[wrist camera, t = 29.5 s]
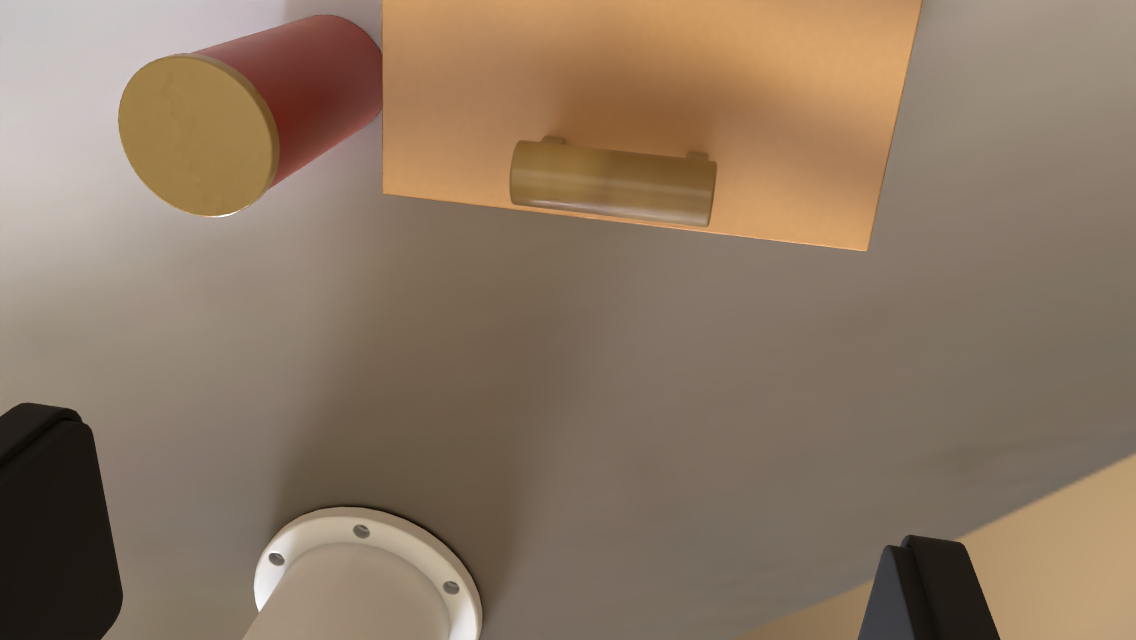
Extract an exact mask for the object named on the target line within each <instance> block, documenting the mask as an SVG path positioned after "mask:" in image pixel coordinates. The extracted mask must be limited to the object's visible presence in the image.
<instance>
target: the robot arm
mask: <svg viewBox="0 0 1136 640" xmlns="http://www.w3.org/2000/svg"><path fill="white" fill-rule="evenodd" d="M254 592H255V601H256V604H257V607H258V610H259V614H258V615H257V617H256V618H255V620H254V622H253V623H252V625H251V626H250V628H249V629H248V631H247V633H246V634H245V636H244V637H243V639H242V640H479V636H480V633H481V629H482V607H481V602H480V597H479V593H478V591H477V589H476V586H475V584H474V582H473V579H472V577H471V576H470V574H469V573H468V571H467V570H466V568H465V567H464V565H463V564H462V562H461V561H460V560H459V559H458V558H457V557H456V556H455V555H454V554H453V552H452V551H451V550H450V549H449V548H448V547H447V546H446V545H445V544H443V543H442V542H441V541H439V540H438V539H437V538H435V537H434V536H433V535H431V534H430V533H429V532H427V531H426V530H424V529H422V528H420V527H418V526H416V525H415V524H413V523H411V522H409V521H407V520H405V519H402V518H399V517H396V516H394V515H391V514H388V513H385V512H381V511H376V510H371V509H366V508H358V507H335V508H328V509H320V510H317V511H314V512H311V513H308V514H305V515H302V516H300V517H298V518H297V519H295V520H293V521H292V522H290V523H288V524H287V525H285V526H284V527H283V528H282V529H281V530H280V531H279V532H278V533H277V534H276V535H275V536H274V537H273V538H272V540H271V541H270V543H269V544H268V546H267V547H266V548H265V550H264V551H263V553H262V555H261V558H260V560H259V562H258V565H257V567H256V572H255V579H254ZM122 600H123V591H122V586H121V581H120V575H119V570H118V565H117V559H116V554H115V549H114V543H113V538H112V533H111V527H110V522H109V517H108V512H107V506H106V501H105V496H104V490H103V485H102V480H101V474H100V469H99V464H98V458H97V453H96V448H95V442H94V437H93V433H92V430H91V428H90V427H89V426H88V425H87V424H84V423H83V422H82V419H81V417H80V416H79V414H78V413H77V412H76V411H74V410H72V409H68V408H62V407H55V406H48V405H42V404H35V403H21V404H19V405H17V406H15V407H13V408H12V409H10V410H9V411H8V412H6V413H5V414H3V415H2V416H1V417H0V640H101V639H102V637H103V636H104V635H105V634H106V633H107V631H108V630H109V629H110V628H111V627H112V625H113V624H114V622H115V621H116V619H117V617H118V615H119V613H120V609H121V606H122ZM858 640H1000V637H999V635H998V632H997V629H996V627H995V624H994V621H993V619H992V616H991V613H990V611H989V608H988V605H987V603H986V600H985V597H984V595H983V592H982V589H981V587H980V584H979V582H978V579H977V576H976V573H975V571H974V568H973V565H972V563H971V560H970V557H969V555H968V552H967V550H966V548H965V546H964V545H963V544H962V543H960V542H955V541H948V540H942V539H935V538H928V537H922V536H915V535H907V536H906V537H905V538H904V539H903V541H902V543H901V546H900V547H898V546H891V545H887V546H886V547H885V548H884V550H883V553H882V555H881V559H880V562H879V566H878V569H877V573H876V576H875V580H874V584H873V587H872V591H871V595H870V598H869V602H868V605H867V608H866V612H865V615H864V619H863V623H862V626H861V630H860V633H859V636H858Z"/></svg>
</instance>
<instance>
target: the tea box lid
mask: <svg viewBox="0 0 1136 640" xmlns="http://www.w3.org/2000/svg"><path fill="white" fill-rule="evenodd" d="M922 2H923V0H382V145H383V194H388V195H396V196H404V197H413V198H421V199H430V200H438V201H447V202H455V203H464V204H472V205H480V206H489V207H497V208H506V209H514V210H523V211H531V212H540V213H548V214H556V215H565V216H573V217H582V218H590V219H599V220H607V221H616V222H624V223H632V224H641V225H649V226H658V227H666V228H675V229H683V230H692V231H700V232H708V233H717V234H725V235H734V236H742V237H751V238H759V239H768V240H776V241H784V242H793V243H801V244H810V245H818V246H827V247H835V248H844V249H852V250H860V251H867V250H868V247H869V243H870V238H871V234H872V229H873V225H874V220H875V215H876V211H877V206H878V202H879V197H880V193H881V188H882V184H883V179H884V175H885V170H886V165H887V161H888V156H889V152H890V147H891V143H892V138H893V134H894V129H895V125H896V120H897V115H898V111H899V106H900V102H901V97H902V93H903V88H904V84H905V79H906V75H907V70H908V65H909V61H910V56H911V52H912V47H913V43H914V38H915V34H916V29H917V25H918V20H919V15H920V11H921V6H922Z"/></svg>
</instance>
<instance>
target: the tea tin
mask: <svg viewBox="0 0 1136 640" xmlns="http://www.w3.org/2000/svg"><path fill="white" fill-rule="evenodd" d="M381 108H382V55H381V53H380V51H379V49H378V47H377V46H376V44H375V43H374V41H373V40H372V39H371V38H370V36H369V35H368V34H367V33H366V32H365V31H363V30H362V29H361V28H360V27H358V26H357V25H355V24H354V23H352V22H350V21H348V20H346V19H344V18H341V17H337V16H332V15H316V16H312V17H308V18H305V19H301V20H298V21H295V22H291V23H288V24H285V25H281V26H278V27H275V28H272V29H268V30H265V31H262V32H258V33H255V34H252V35H248V36H245V37H242V38H239V39H235V40H232V41H229V42H225V43H222V44H219V45H215V46H212V47H209V48H205V49H202V50H199V51H196V52H192V53H182V54H174V55H170V56H167V57H163V58H160V59H157V60H155V61H152V62H150V63H148V64H147V65H145V66H144V67H142V68H141V69H140V70H139V71H138V72H137V73H136V74H135V75H134V76H133V77H132V78H131V80H130V81H129V82H128V84H127V86H126V88H125V90H124V92H123V95H122V98H121V101H120V107H119V118H118V122H119V132H120V137H121V142H122V145H123V148H124V151H125V153H126V156H127V158H128V160H129V162H130V164H131V165H132V167H133V169H134V171H135V172H136V173H137V175H138V176H139V178H140V179H141V180H142V181H143V182H144V184H145V185H146V186H147V187H148V188H149V189H150V190H151V191H152V192H153V193H154V194H156V195H157V196H158V197H159V198H161V199H162V200H163V201H165V202H166V203H168V204H170V205H171V206H173V207H175V208H177V209H179V210H182V211H184V212H187V213H190V214H193V215H198V216H204V217H222V216H227V215H232V214H234V213H237V212H239V211H242V210H243V209H245V208H247V207H248V206H250V205H251V204H253V203H254V202H256V201H257V200H258V199H259V198H261V197H262V196H263V194H264V193H265V192H266V191H267V190H268V189H270V188H271V187H273V186H274V185H276V184H277V183H279V182H280V181H282V180H283V179H285V178H286V177H288V176H290V175H291V174H293V173H294V172H296V171H297V170H299V169H300V168H302V167H303V166H305V165H306V164H308V163H309V162H311V161H312V160H314V159H315V158H317V157H318V156H320V155H322V154H323V153H325V152H326V151H328V150H329V149H331V148H332V147H334V146H335V145H337V144H338V143H340V142H341V141H343V140H344V139H346V138H347V137H349V136H350V135H352V134H353V133H355V132H357V131H358V130H360V129H361V128H363V127H364V126H366V125H367V124H368V123H370V122H371V121H372V120H373V119H374V118H375V117H376V116H377V114H378V113H379V111H380V110H381Z"/></svg>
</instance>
